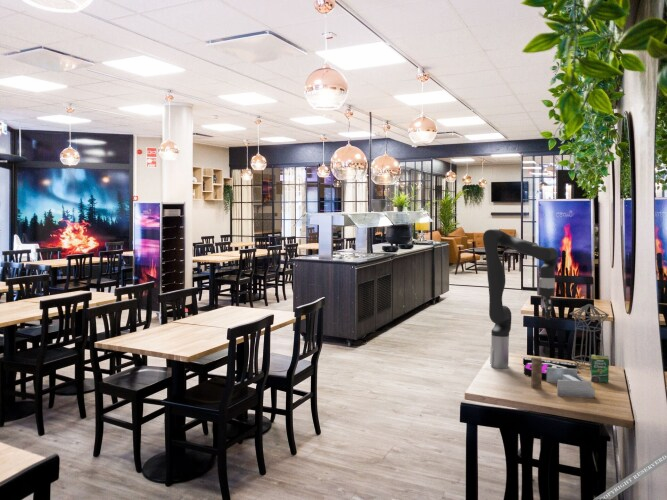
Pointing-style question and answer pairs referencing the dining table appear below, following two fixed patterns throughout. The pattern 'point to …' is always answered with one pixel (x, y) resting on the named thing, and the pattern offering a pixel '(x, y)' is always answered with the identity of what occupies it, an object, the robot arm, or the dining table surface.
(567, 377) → the offcut stack
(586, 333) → the geometric lantern
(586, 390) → the rack
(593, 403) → the dining table surface
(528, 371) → the sign
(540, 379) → the walnut board
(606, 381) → the coffee box
